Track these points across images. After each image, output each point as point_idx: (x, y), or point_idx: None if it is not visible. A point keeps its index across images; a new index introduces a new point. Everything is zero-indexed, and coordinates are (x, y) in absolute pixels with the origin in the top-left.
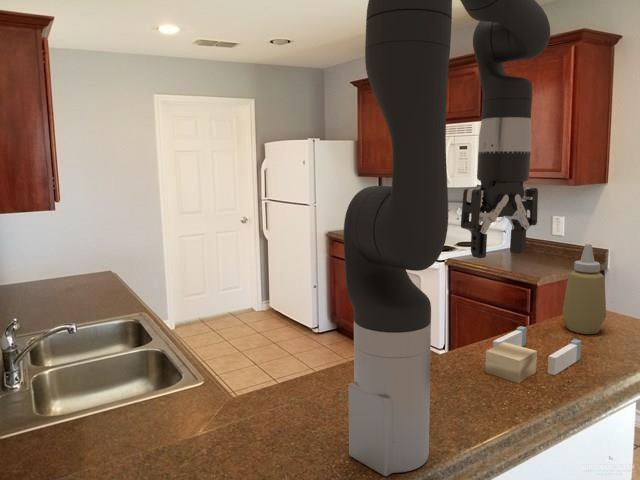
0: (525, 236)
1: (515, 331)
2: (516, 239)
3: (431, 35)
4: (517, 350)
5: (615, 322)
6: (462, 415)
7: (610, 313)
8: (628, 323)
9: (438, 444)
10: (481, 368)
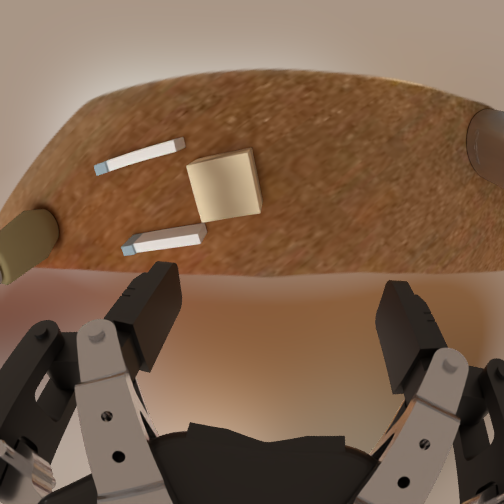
0: (115, 306)
1: (141, 249)
2: (158, 318)
3: None
4: (212, 184)
5: None
6: (396, 135)
7: None
8: (5, 212)
9: (457, 118)
10: None
